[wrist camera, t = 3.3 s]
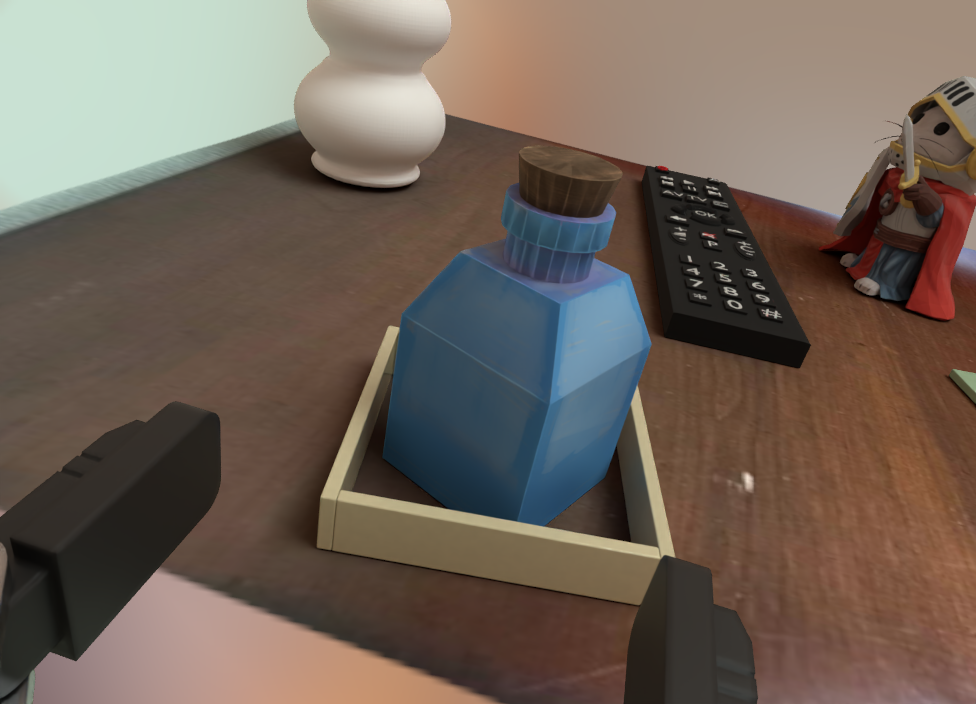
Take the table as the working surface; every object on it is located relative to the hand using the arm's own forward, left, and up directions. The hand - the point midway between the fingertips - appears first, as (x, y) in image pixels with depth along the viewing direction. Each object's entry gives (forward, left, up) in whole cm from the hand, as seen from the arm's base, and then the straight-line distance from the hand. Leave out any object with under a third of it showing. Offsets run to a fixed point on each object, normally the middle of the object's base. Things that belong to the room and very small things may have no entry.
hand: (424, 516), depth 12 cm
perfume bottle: (+12, -2, -9) cm, 15 cm away
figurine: (+43, -30, -9) cm, 53 cm away
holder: (+12, -2, -9) cm, 15 cm away
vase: (+44, +10, -9) cm, 46 cm away
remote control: (+42, -16, -9) cm, 46 cm away
